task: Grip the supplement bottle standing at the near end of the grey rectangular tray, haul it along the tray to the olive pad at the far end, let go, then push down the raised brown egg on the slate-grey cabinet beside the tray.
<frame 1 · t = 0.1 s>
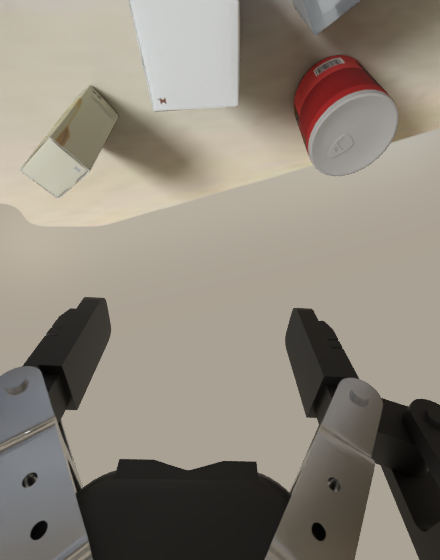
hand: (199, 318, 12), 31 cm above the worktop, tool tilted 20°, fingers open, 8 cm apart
canned food: (325, 93, 33), on the worktop
supplement box: (198, 16, 27), on the worktop
skincare box: (90, 115, 35), on the worktop
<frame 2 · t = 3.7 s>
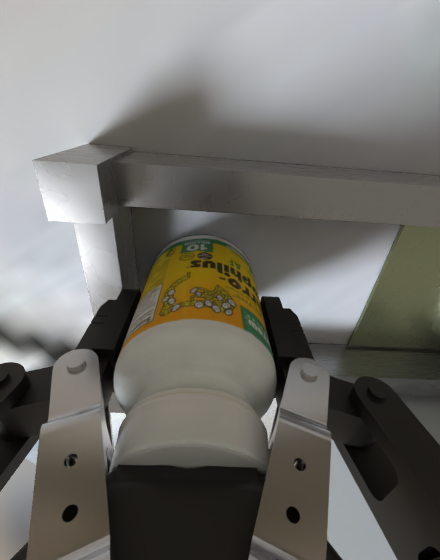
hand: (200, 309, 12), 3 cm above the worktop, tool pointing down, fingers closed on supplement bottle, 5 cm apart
grey rectangular tray: (321, 284, 15), on the worktop
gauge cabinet: (364, 406, 21), on the worktop
supplement bottle: (203, 275, 15), resting in grey rectangular tray, touching gripper
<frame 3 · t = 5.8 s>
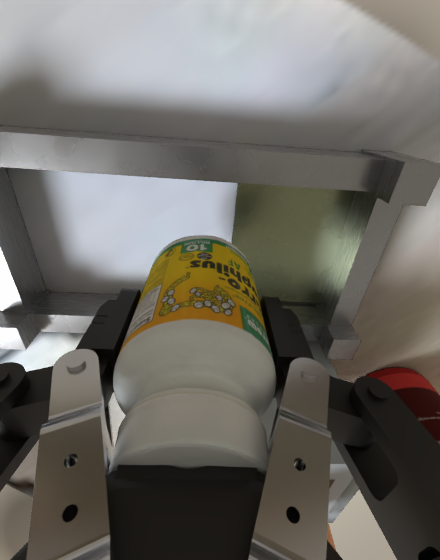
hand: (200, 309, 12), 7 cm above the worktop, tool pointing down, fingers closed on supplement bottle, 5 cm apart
canned food: (382, 390, 27), on the worktop
grey rectangular tray: (185, 242, 18), on the worktop
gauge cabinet: (259, 360, 24), on the worktop
brown egg: (285, 502, 15), point 10 cm above the worktop, slide at 0.0 cm
supplement bottle: (203, 275, 15), point 4 cm above the worktop, touching gripper
when the fingers open (3 cm above the worktop, at t = 7.8 s): supplement bottle stays where it is, resting on grey rectangular tray.
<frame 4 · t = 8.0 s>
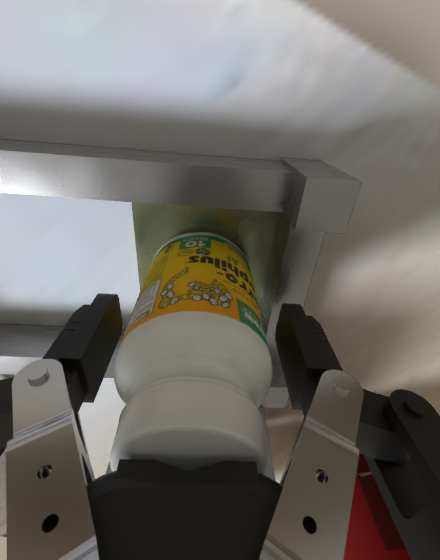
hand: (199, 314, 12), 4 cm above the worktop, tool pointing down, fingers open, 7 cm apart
canned food: (343, 425, 24), on the worktop
grey rectangular tray: (83, 266, 15), on the worktop
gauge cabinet: (197, 395, 21), on the worktop
supplement bottle: (201, 272, 15), resting on grey rectangular tray
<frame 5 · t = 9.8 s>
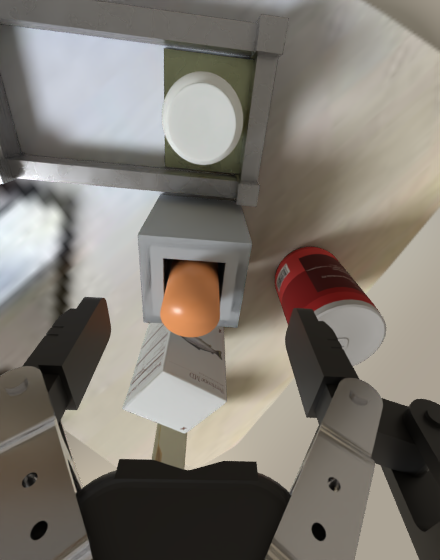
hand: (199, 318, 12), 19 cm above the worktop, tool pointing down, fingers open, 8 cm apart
canned food: (304, 273, 33), on the worktop
supplement box: (185, 317, 36), on the worktop
grey rectangular tray: (129, 109, 23), on the worktop
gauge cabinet: (198, 234, 30), on the worktop
brown egg: (193, 288, 21), point 10 cm above the worktop, slide at 0.0 cm
supplement bottle: (204, 117, 24), resting on grey rectangular tray
skincare box: (176, 395, 45), on the worktop
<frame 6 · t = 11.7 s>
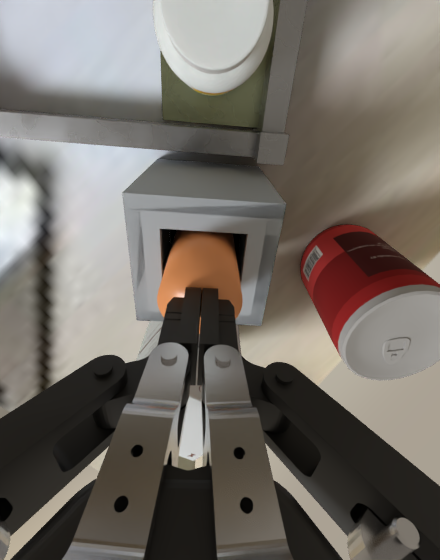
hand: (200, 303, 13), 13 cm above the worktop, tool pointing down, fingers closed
canned food: (336, 259, 27), on the worktop
supplement box: (192, 315, 30), on the worktop
grey rectangular tray: (113, 38, 18), on the worktop
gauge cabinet: (206, 211, 24), on the worktop
brown egg: (202, 268, 16), point 10 cm above the worktop, slide at 0.4 cm, touching gripper
supplement bottle: (213, 48, 18), resting on grey rectangular tray
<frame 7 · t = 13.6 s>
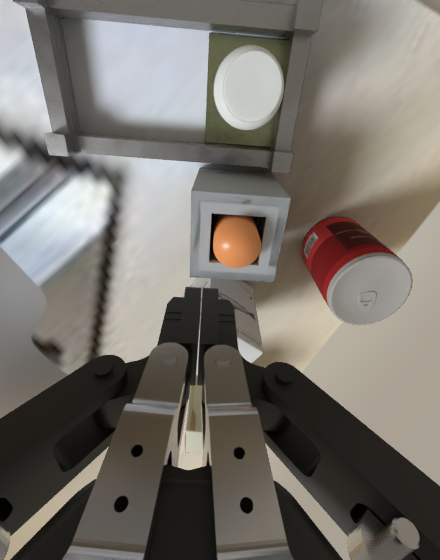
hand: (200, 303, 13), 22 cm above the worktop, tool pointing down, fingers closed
canned food: (329, 244, 35), on the worktop
supplement box: (217, 289, 39), on the worktop
grey rectangular tray: (176, 89, 26), on the worktop
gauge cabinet: (232, 206, 32), on the worktop
brown egg: (235, 232, 26), point 8 cm above the worktop, slide at 2.2 cm
supplement bottle: (242, 94, 27), resting on grey rectangular tray
skincare box: (204, 369, 48), on the worktop
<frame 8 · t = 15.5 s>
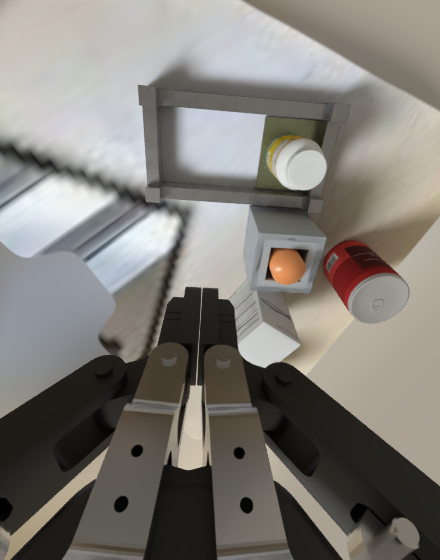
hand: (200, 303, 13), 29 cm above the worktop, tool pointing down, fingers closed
canned food: (345, 260, 45), on the worktop
supplement box: (254, 295, 49), on the worktop
grey rectangular tray: (237, 152, 36), on the worktop
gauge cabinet: (271, 233, 42), on the worktop
brown egg: (282, 258, 35), point 8 cm above the worktop, slide at 2.2 cm
supplement bottle: (285, 155, 36), resting on grey rectangular tray
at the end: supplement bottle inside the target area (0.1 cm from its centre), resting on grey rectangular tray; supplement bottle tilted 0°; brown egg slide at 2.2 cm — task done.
